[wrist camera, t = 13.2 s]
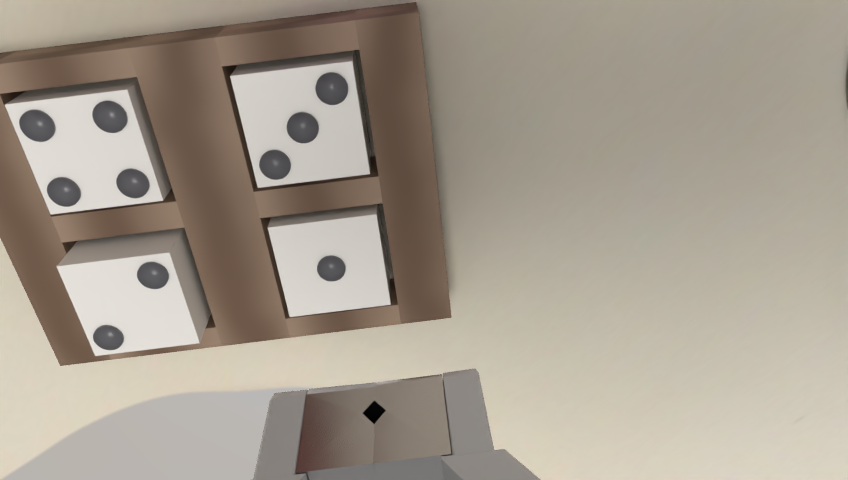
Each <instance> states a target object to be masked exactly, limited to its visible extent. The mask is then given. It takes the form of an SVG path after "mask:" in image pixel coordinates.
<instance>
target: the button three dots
mask: <svg viewBox="0 0 848 480" xmlns="http://www.w3.org/2000/svg"><path fill="white" fill-rule="evenodd" d="M230 78H231V82H232V86H233V90H234V94H235V98H236V102H237V106H238V110H239V114H240V118H241V122H242V126H243V130H244V134H245V138H246V142H247V147H248V151H249V155H250V159H251V163H252V167H253V171H254V175H255V179H256V183H257V187H258V188H261V187H269V186H277V185H285V184H294V183H302V182H310V181H318V180H326V179H334V178H342V177H350V176H359V175H367V174H370V158H371V151H370V145H369V138H368V132H367V126H366V119H365V113H364V106H363V100H362V93H361V87H360V80H359V74H358V68H357V61H356V55H355V50H352V51H344V52H336V53H328V54H320V55H312V56H304V57H295V58H287V59H279V60H271V61H263V62H255V63H247V64H239V65H238V66H237V67H236V69H235V70H234V71H233V73H232V74H231V76H230Z"/></svg>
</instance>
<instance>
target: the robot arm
mask: <svg viewBox="0 0 848 480" xmlns="http://www.w3.org/2000/svg"><path fill="white" fill-rule="evenodd" d="M443 386H444V387H443ZM253 480H540V479H539V478H538V477H537V476H536V475H534V474H533V473H532V472H531V471H530V470H529V469H527V468H526V467H525V466H524V465H523V464H521V463H520V462H519V461H518V460H517V459H516V458H514V457H513V456H512V455H511V454H510V453H508V452H507V451H506V450H505V449H502V450H494V447H493V442H492V437H491V432H490V427H489V422H488V417H487V412H486V407H485V402H484V397H483V393H482V388H481V383H480V378H479V373H478V371H477V370H476V369H469V370H462V371H455V372H448V373H443V380H442V374H440V375H432V376H424V377H416V378H408V379H400V380H393V381H385V382H377V383H366V384H355V385H345V386H335V387H325V388H315V389H309V390H300V391H291V392H281V393H275V394H274V395H273V397H272V398H271V400H270V403H269V408H268V412H267V418H266V422H265V427H264V431H263V436H262V441H261V446H260V450H259V455H258V460H257V464H256V469H255V474H254V479H253Z"/></svg>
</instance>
